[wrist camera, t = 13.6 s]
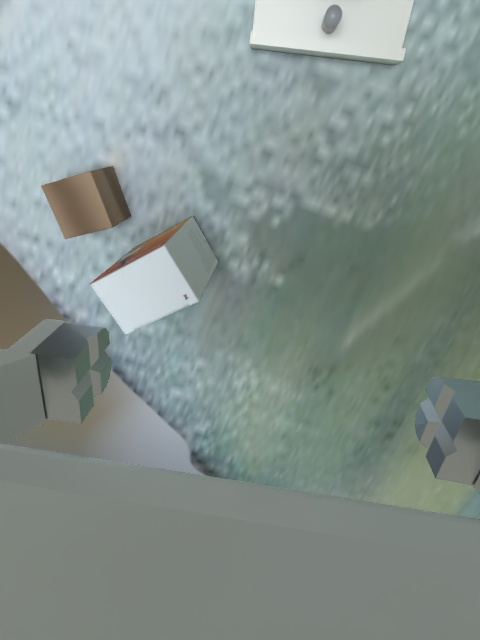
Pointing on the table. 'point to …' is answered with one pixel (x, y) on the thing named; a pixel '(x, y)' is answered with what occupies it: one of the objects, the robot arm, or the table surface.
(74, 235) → the walnut block
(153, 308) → the small box
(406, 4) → the peg board
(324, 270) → the table surface
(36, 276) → the table surface
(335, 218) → the table surface
